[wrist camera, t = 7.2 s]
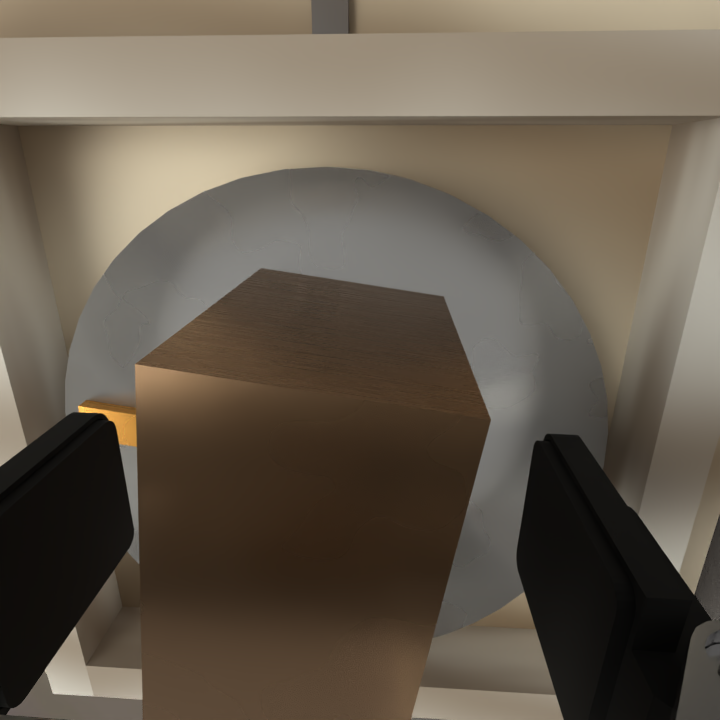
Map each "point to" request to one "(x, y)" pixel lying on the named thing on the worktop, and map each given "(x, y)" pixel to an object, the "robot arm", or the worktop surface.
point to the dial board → (401, 158)
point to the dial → (325, 433)
